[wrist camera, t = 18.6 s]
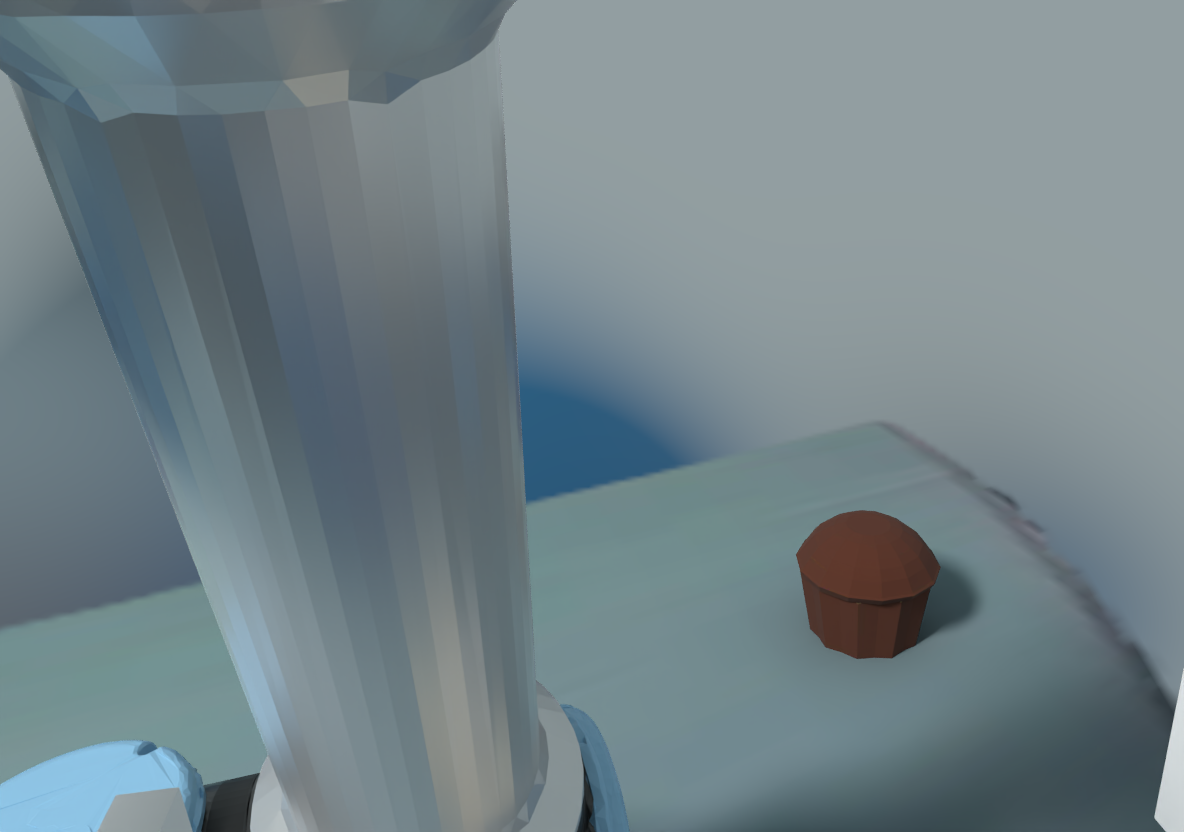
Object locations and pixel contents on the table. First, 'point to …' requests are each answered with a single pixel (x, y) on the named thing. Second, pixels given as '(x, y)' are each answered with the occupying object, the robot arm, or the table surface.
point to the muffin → (866, 583)
